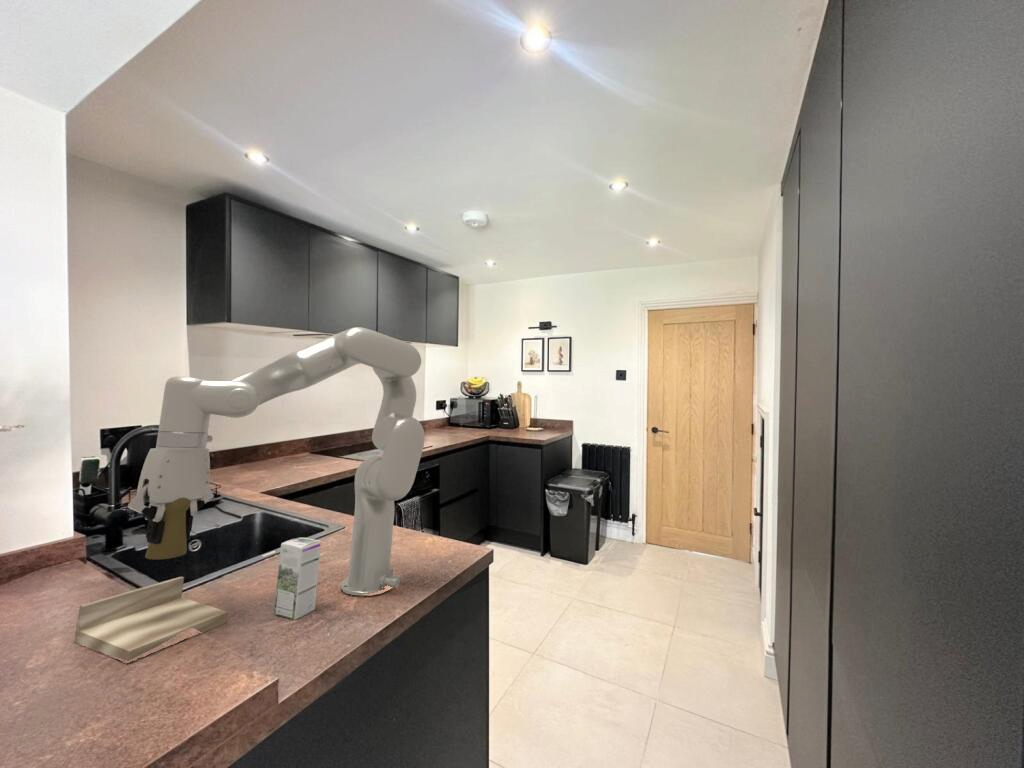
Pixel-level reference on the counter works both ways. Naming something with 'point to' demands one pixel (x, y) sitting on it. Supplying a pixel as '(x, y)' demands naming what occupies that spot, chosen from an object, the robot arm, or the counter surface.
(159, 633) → the shelf
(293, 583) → the syrup box
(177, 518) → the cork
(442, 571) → the counter surface
